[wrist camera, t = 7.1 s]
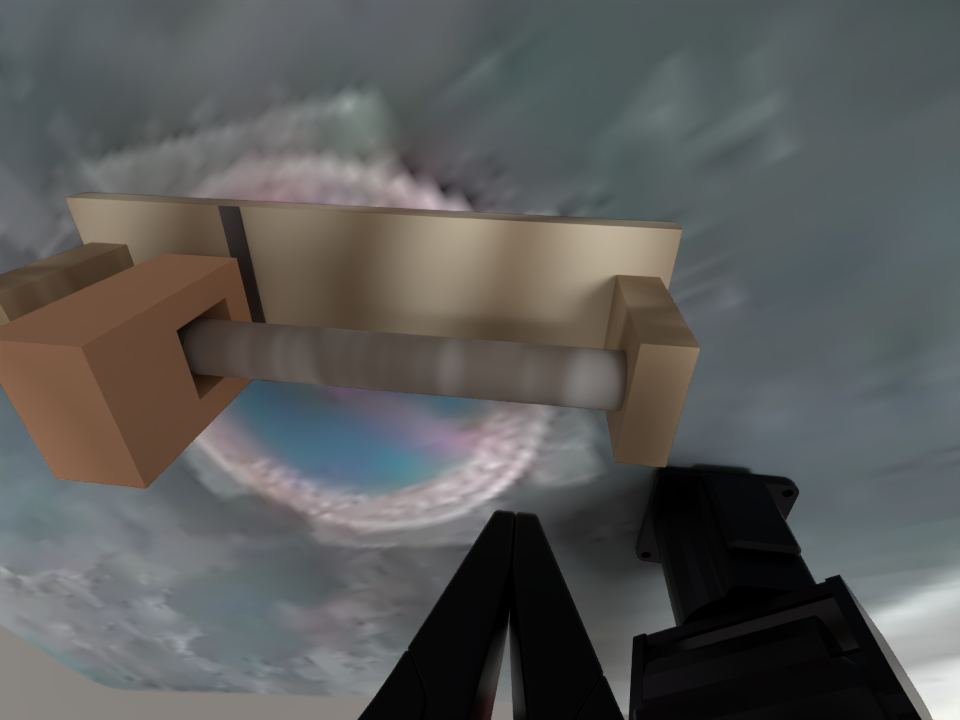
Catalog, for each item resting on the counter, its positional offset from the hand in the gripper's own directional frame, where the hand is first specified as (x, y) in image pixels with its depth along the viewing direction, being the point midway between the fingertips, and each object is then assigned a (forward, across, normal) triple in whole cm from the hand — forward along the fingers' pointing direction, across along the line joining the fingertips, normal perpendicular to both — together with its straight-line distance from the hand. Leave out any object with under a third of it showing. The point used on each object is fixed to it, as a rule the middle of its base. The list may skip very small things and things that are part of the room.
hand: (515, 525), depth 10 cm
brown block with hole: (+9, +13, 0) cm, 16 cm away
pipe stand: (+12, +7, 0) cm, 14 cm away
